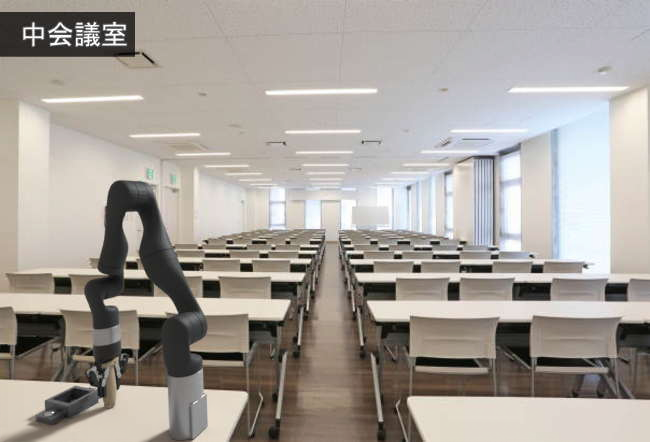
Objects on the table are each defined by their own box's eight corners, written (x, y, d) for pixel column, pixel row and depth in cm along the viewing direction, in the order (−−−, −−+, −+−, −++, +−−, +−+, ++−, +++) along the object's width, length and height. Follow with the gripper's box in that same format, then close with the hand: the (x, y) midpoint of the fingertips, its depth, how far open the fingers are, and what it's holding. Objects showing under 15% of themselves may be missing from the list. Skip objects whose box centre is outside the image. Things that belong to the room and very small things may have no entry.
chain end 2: (108, 396, 115) (108, 384, 115) (72, 417, 104) (72, 404, 104) (86, 391, 119) (85, 380, 119) (49, 411, 108) (48, 398, 107)
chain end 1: (95, 404, 111) (94, 392, 111) (56, 426, 100) (55, 413, 99) (72, 399, 114) (71, 387, 114) (32, 420, 103) (31, 407, 103)
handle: (124, 400, 112) (122, 355, 112) (109, 412, 106) (107, 364, 105) (110, 400, 113) (108, 355, 112) (95, 411, 106) (92, 364, 106)
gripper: (94, 350, 101) (96, 407, 101) (135, 333, 114) (137, 383, 115) (75, 347, 103) (78, 403, 104) (118, 331, 116) (120, 380, 117)
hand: (109, 392), depth 109 cm, fingers closed on handle, 4 cm apart
